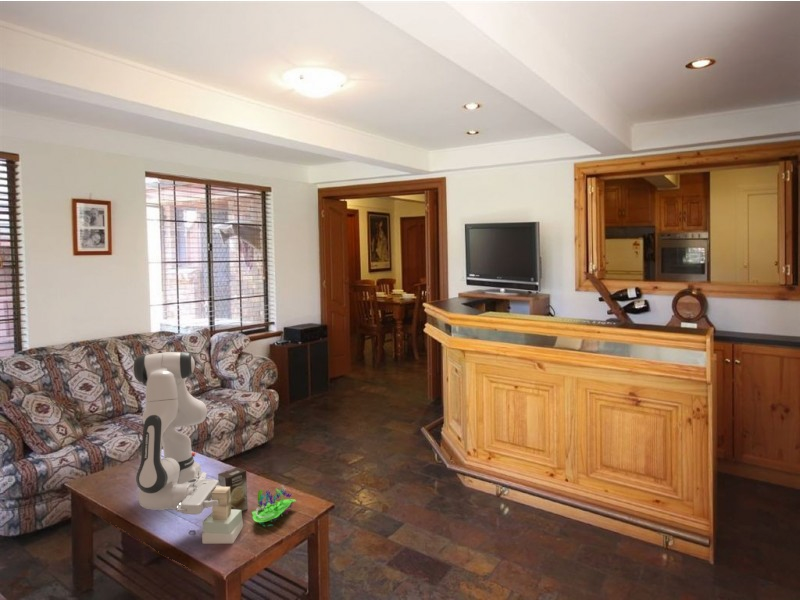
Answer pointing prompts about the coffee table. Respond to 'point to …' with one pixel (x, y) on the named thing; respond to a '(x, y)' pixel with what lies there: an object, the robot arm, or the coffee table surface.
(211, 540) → the bottom slab
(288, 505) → the diorama
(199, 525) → the coffee table surface
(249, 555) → the coffee table surface
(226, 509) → the birch block
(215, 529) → the top slab
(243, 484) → the coffee box
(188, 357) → the robot arm
